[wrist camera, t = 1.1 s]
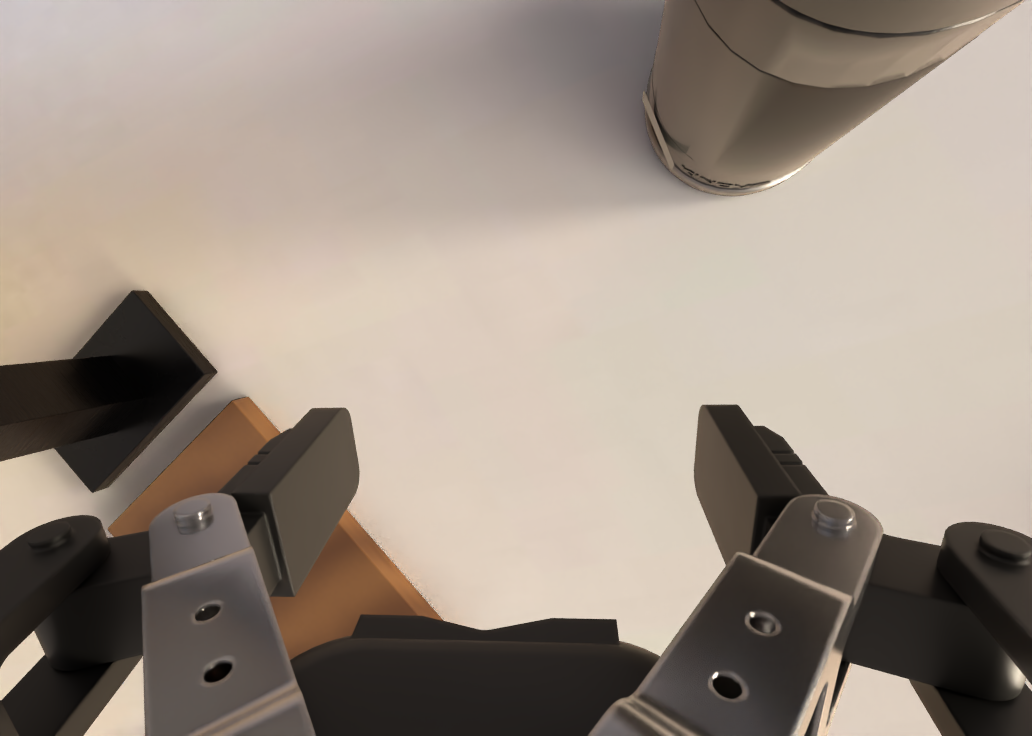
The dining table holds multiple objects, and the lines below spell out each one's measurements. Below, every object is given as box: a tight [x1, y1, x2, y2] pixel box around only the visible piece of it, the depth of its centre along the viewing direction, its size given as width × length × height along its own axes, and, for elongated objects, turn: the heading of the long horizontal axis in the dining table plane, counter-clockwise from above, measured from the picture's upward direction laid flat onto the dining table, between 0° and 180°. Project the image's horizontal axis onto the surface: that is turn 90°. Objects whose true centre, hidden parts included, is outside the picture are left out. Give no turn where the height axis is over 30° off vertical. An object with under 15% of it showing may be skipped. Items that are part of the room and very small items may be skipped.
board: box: [108, 397, 443, 660], centre depth 35 cm, size 21×13×2 cm, turn 42°
